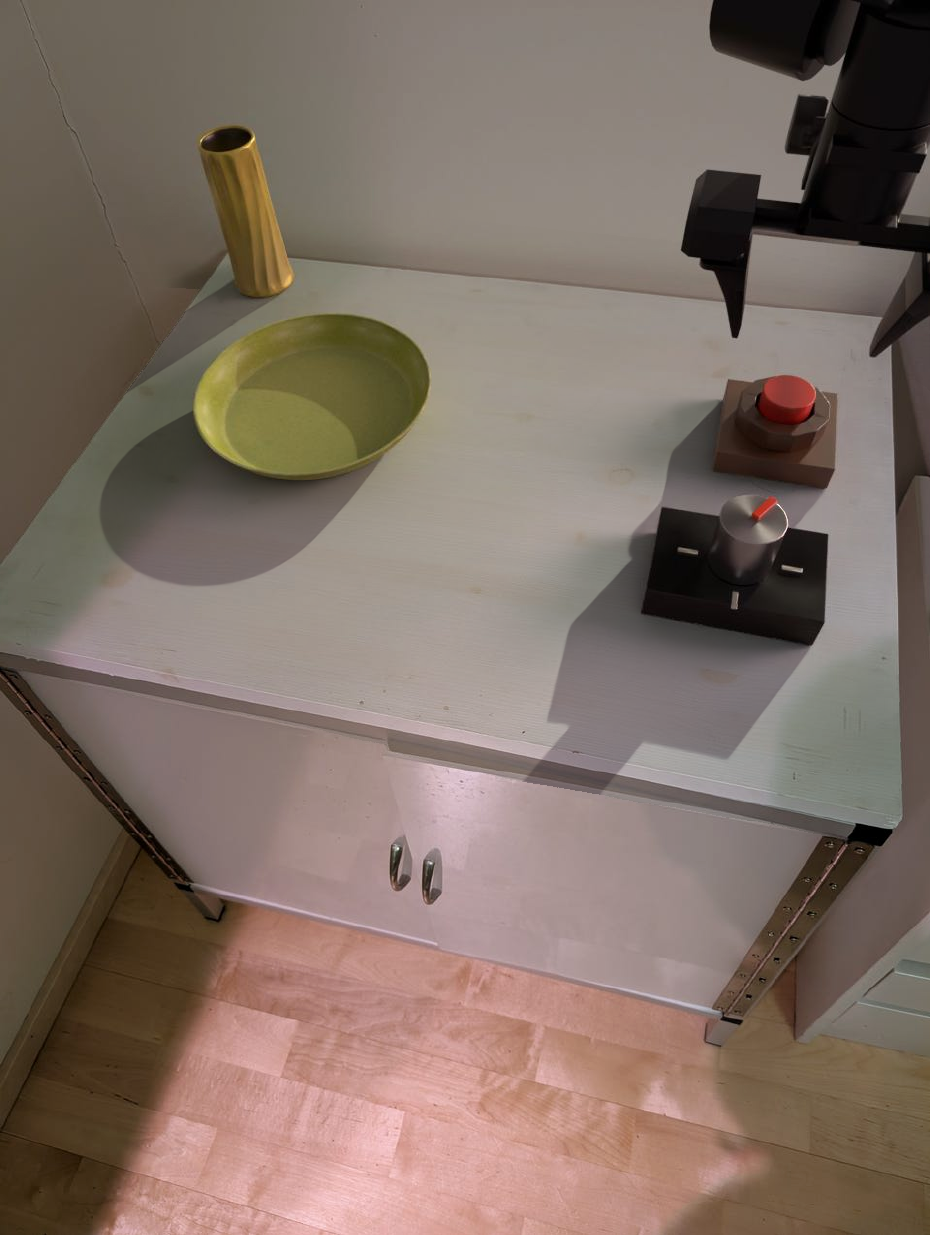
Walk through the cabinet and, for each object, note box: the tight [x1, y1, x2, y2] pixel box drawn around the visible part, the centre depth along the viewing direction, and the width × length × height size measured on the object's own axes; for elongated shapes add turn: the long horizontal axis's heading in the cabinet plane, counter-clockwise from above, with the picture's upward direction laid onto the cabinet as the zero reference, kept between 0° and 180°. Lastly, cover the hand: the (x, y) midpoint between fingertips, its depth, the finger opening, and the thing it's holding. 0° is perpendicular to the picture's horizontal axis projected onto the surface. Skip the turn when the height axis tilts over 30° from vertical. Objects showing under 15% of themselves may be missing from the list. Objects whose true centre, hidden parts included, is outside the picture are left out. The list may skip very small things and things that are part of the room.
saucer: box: [192, 312, 432, 481], centre depth 73 cm, size 21×21×3 cm
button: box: [758, 374, 816, 425], centre depth 66 cm, size 4×4×2 cm
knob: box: [708, 494, 789, 585], centre depth 57 cm, size 4×4×5 cm
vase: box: [196, 124, 295, 298], centre depth 81 cm, size 6×6×14 cm
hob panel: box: [640, 506, 829, 647], centre depth 61 cm, size 12×9×3 cm
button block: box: [711, 375, 839, 490], centre depth 68 cm, size 9×9×4 cm
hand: (802, 343), depth 58 cm, fingers open, 9 cm apart
